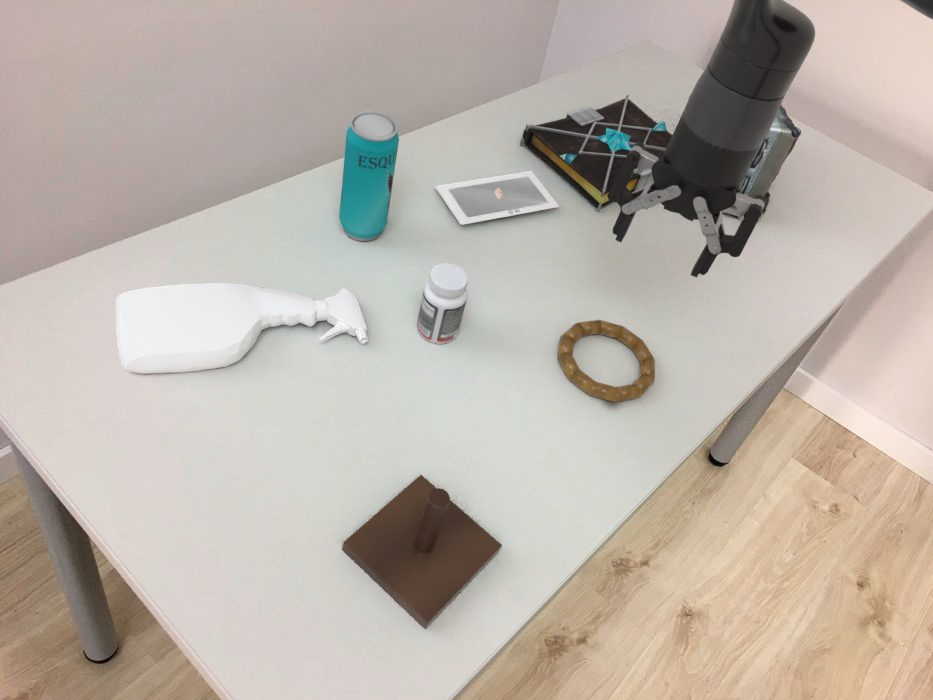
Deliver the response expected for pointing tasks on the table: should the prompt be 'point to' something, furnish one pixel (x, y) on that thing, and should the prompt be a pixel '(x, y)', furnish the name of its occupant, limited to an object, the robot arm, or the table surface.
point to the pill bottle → (443, 303)
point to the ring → (595, 387)
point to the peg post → (422, 550)
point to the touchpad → (496, 197)
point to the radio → (768, 160)
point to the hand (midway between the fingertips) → (657, 254)
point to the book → (597, 146)
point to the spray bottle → (216, 323)
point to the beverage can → (368, 174)
